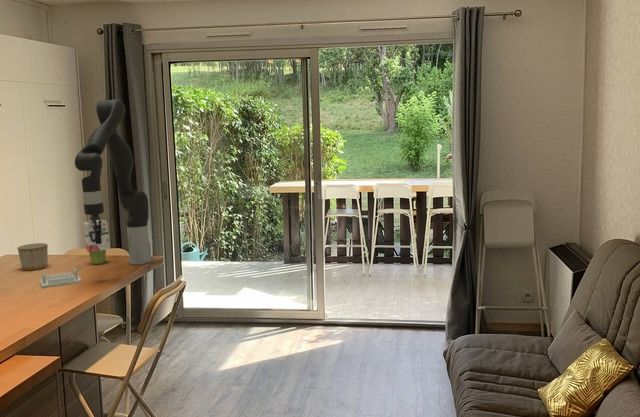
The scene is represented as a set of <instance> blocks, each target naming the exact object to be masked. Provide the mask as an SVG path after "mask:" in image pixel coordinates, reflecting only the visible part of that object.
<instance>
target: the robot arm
mask: <svg viewBox="0 0 640 417" xmlns="http://www.w3.org/2000/svg"><path fill="white" fill-rule="evenodd" d="M95 108H96V109H95V111H96V115H97V118H98V121H99V124H100V125H99V126H98V127H97V128H95V129H94V131H92V133H91V135H90V137H89V138H88V141H87V143H86V144H85V145H84V146H83V147H82V149H80V151H79V152H78V153H77V154H76V155H75V158H74V167H75V168H76V169H77V170H78V171H81V172H89V171H91V172H90V174H89V175H88V176H85V177H83V178H82V179H81V186H82V187H81V188H82V201H83V203H82V204H83V210H84V214H85V215H88V216H89V222H91V223H92V224H93V223H94V225H92V227H93V230H94V235H95V240H96V244H101V243H102V241H101V234H102V231H101V220H102V219H101V217H100V216H99V215H100V214H104V212H105V209H104V201H103V200H104V199H103V194H102V193H103V192H102V188H101V176H102V170H103V169H102V168H103V158H102V157H101V155H102V154H103V153H104V150H105V148H106V146H107V148H108V151H109V156H110V160H111V164H112V166H113V167H112V168H113V170H114V174H115V179H116V183H117V189H118V195H119V201H120V203H121V204H120V205H121V207H122V208H123V209H124V210H125V211H128V212H132V217H130V218H129V219H127V220H126V230H127V231H126V233H127V242H128V244H127V245H128V254H129V263H130V265H144V264H148V263H152V259H153V258H152V250H151V249H152V248H151V241H150V238H149V225H148V224H149V222H148V221H149V218H150V217H149V215H150V213H149V212H150V211H149V199H148V196H147V194H146V193H145V192H144V191H141V190H134V189H133V186H132V182H131V181H132V180H131V176H132V172H133V170H134V158H133V153H132V149H131V146H130V145H129V144H128V143H127V141H125V139H124V138H122V137H121V135H120V134H119V133H118V132H117V130H116V129H117V128H118V126H119V125H120V123H121V122H122V121H123V120H124V117H125V115H126V105H125V103H124V102H123V100H120V99H119V98H116V99H115V98H114V99H113V98H112V99H107V100H99V101H98V102H97V103H96V107H95ZM96 229H99V231H96Z"/></svg>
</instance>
